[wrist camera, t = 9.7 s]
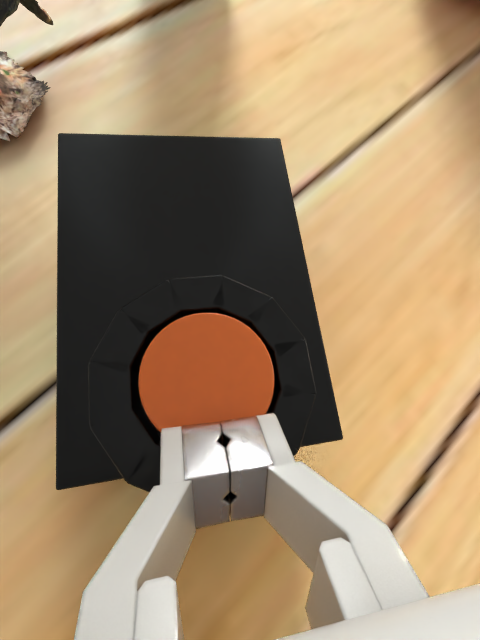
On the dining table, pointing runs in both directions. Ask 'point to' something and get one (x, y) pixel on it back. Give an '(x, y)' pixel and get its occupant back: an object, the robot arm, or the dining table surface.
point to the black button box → (174, 287)
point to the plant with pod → (18, 79)
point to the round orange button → (205, 372)
